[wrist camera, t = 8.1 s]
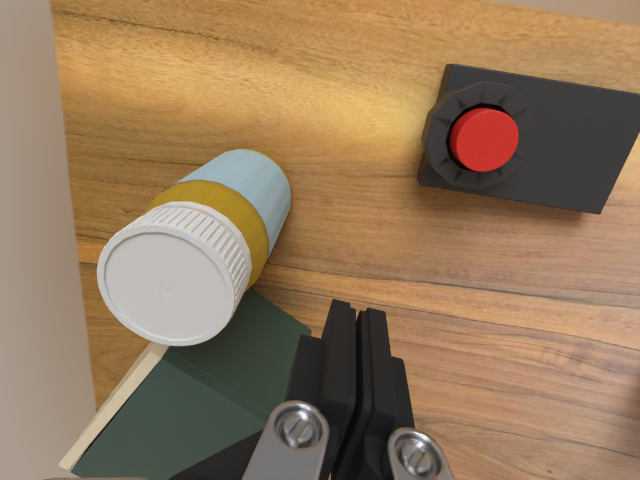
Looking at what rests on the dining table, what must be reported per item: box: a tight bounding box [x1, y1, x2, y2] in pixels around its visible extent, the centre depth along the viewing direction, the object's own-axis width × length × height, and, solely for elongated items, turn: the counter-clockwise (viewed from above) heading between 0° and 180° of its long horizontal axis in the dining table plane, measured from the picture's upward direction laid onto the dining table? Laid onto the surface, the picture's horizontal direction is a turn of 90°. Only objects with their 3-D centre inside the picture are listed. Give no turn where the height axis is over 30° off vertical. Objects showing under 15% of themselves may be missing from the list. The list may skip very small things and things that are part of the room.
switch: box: [417, 64, 640, 214], centre depth 26 cm, size 14×8×4 cm, turn 82°
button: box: [450, 108, 519, 172], centre depth 24 cm, size 4×4×2 cm
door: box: [58, 341, 170, 470], centre depth 30 cm, size 2×14×11 cm, turn 140°
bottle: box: [97, 148, 292, 346], centre depth 23 cm, size 7×7×15 cm
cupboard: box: [71, 288, 311, 480], centre depth 31 cm, size 10×14×12 cm
